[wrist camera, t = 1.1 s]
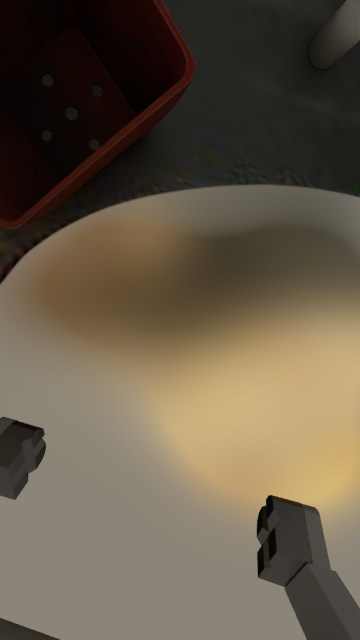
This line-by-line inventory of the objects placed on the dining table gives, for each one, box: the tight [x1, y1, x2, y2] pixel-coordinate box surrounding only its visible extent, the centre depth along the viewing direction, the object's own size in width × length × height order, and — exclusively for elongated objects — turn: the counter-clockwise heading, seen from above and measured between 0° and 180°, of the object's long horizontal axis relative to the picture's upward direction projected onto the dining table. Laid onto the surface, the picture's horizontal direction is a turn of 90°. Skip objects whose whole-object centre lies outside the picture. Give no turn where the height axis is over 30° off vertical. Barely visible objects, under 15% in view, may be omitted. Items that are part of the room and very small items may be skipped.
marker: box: [309, 0, 360, 69], centre depth 29 cm, size 4×4×12 cm
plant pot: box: [0, 0, 195, 229], centre depth 27 cm, size 19×19×17 cm
